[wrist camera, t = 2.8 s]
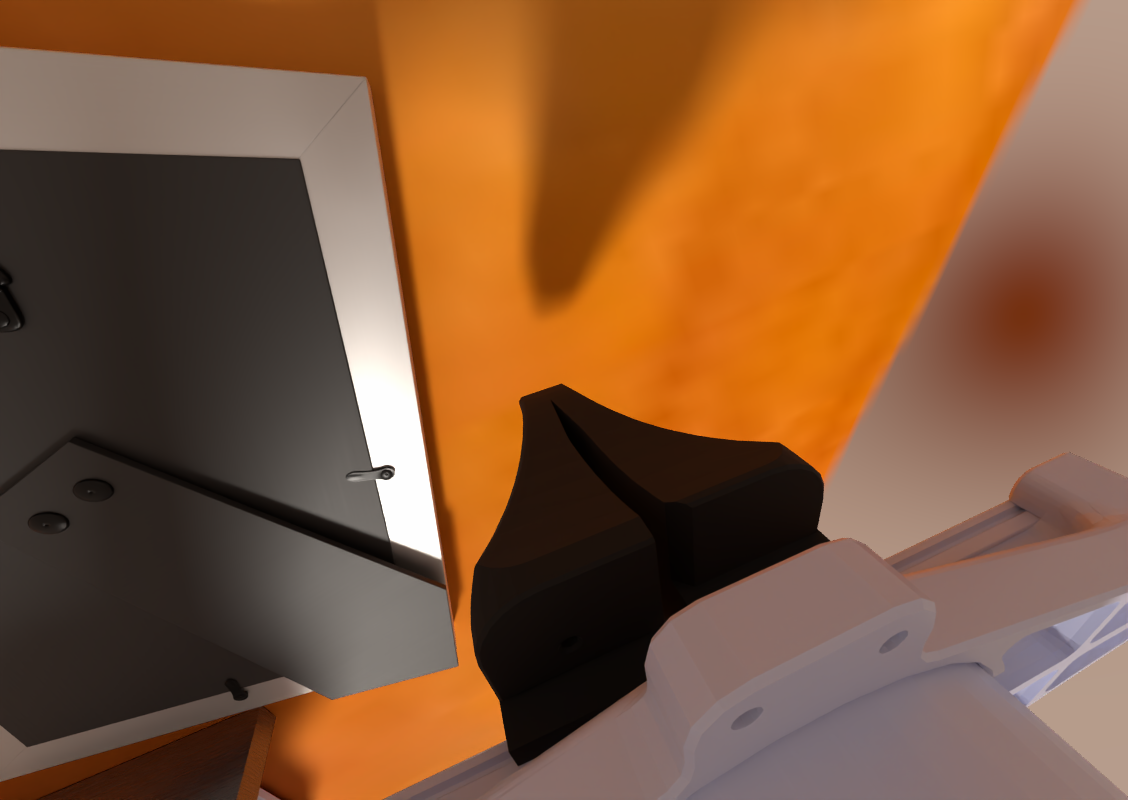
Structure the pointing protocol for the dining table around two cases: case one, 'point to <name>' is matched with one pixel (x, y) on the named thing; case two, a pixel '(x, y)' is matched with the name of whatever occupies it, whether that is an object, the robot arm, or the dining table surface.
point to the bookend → (190, 766)
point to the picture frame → (201, 404)
